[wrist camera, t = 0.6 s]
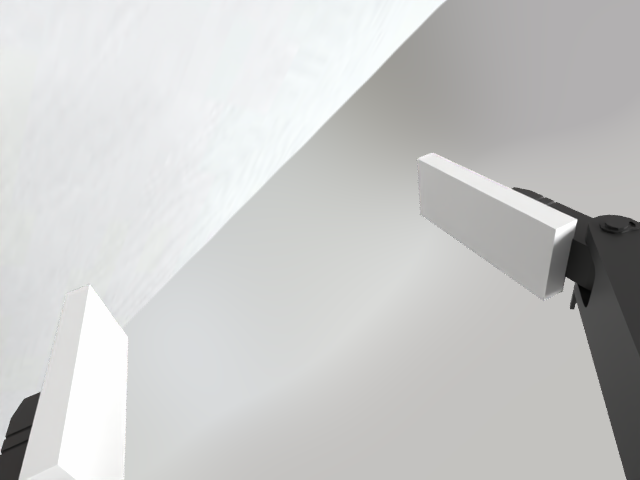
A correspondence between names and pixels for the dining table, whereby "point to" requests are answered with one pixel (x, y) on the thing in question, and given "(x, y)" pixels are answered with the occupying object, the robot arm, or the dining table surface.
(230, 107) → the dining table surface
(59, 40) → the dining table surface
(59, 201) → the dining table surface
